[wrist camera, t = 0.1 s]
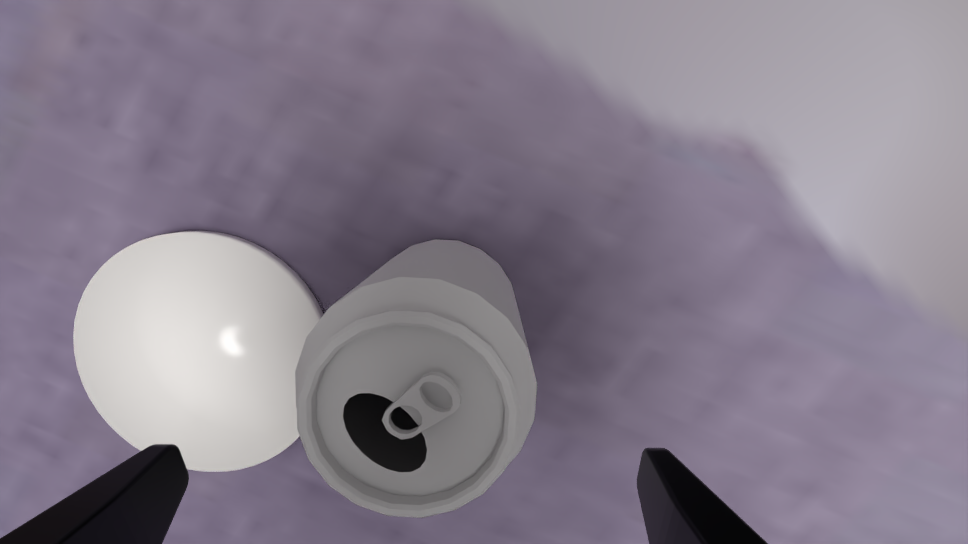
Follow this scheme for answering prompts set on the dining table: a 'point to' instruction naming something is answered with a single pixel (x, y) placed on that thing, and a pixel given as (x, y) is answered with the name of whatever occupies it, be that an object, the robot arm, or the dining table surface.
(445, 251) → the can
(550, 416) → the dining table surface
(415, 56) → the dining table surface
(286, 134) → the dining table surface
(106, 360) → the plate
